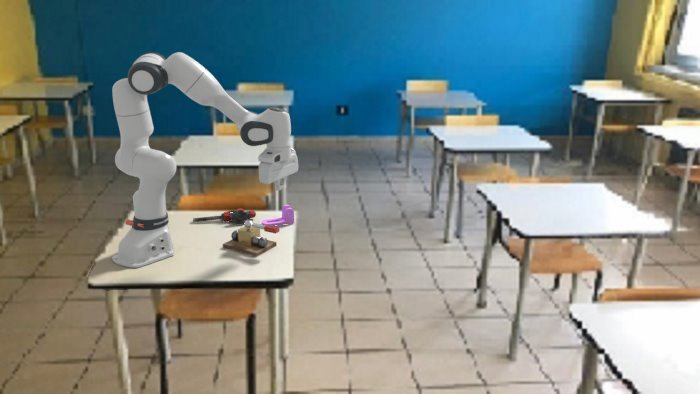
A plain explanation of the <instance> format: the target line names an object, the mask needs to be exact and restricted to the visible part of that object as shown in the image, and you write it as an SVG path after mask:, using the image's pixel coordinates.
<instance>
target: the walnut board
mask: <svg viewBox="0 0 700 394" xmlns="http://www.w3.org/2000/svg"><path fill="white" fill-rule="evenodd" d="M267 240H268V244H267V246H266V247H264V248H262V247H259V246H258V245H254V246H252V247H250V246H246V245H242V244H239V242H238V241H235V240H233V239H232V238H231V239H230V240H228V241H226V242H224V243H222V249H225V250H229V251H234V252H237V253H240V254H244V255H247V256H252V257H255V258H257V257H259V256H261V255H263V254H265V253H267V252H268V251H270V250H271V249H273V248H275V247H277V241H274V240H269V239H267Z"/></svg>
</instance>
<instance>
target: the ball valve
mask: <svg viewBox="0 0 700 394" xmlns="http://www.w3.org/2000/svg"><path fill="white" fill-rule="evenodd" d="M230 237H231V240H232V239H233V240H235V241H238V242H239V244H242V245H246V246H250V247H252V246H254V245H258V246H259V247H262V248H264V247H266V246H267V244H268V240H269V239H267V238H266V237H264V236H261V229H259V228H255V227H251V228H246V227H245V225H244V226H243V227H240V228H238V229H237V230H234V231H232V233H231V236H230Z"/></svg>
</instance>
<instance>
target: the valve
mask: <svg viewBox="0 0 700 394" xmlns="http://www.w3.org/2000/svg"><path fill="white" fill-rule="evenodd" d="M230 212H233V213H230ZM256 215H257V213H256V211H255V210H253V209H252V210H246V211H245V210H244V209H243V208H237V209H234V210H228V211H224V212H223V213H221V215H214V216H203V217H195V218H194V217H193V218H192V223H198V222H207V221H217V220H221V221H222V222H225V223H228V221H230V222H231V221H232V222H233V223H234V225H236V224H241V225H245V224H244V223H245V221H246V220H250V219H254V218H255V217H256Z"/></svg>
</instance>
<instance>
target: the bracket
mask: <svg viewBox="0 0 700 394" xmlns="http://www.w3.org/2000/svg"><path fill="white" fill-rule="evenodd" d="M293 223H294V224H295V212H294V210H293V208H292V207H291V206H290V205H289V204H284V205H283V206H282V207H281V217H276V218H275V217H274V218H268V219H263V220H262V221H261V224H262V225H273V226H275V225H281V226H284V225H283V224H289V225H294V224H293Z"/></svg>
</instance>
